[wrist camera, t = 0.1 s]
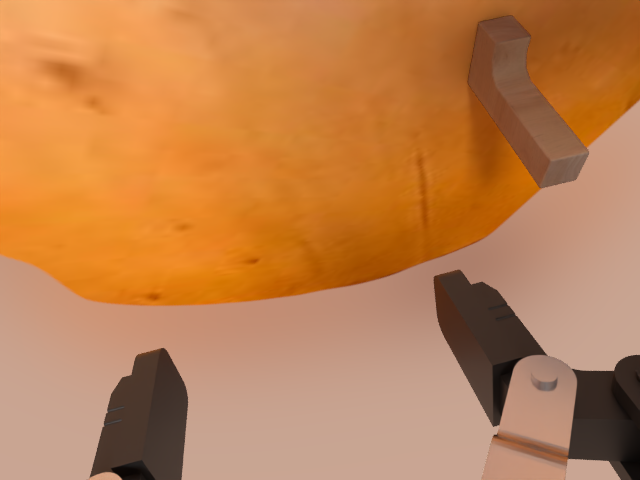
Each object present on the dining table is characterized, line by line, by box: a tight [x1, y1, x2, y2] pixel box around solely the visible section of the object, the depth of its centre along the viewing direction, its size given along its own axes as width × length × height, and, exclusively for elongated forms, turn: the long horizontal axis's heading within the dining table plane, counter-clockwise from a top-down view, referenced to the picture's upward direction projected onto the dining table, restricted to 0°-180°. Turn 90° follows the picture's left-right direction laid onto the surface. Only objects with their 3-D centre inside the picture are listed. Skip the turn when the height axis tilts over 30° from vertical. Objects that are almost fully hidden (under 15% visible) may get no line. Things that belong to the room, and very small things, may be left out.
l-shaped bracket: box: [468, 16, 589, 188], centre depth 42 cm, size 7×3×15 cm, turn 5°
